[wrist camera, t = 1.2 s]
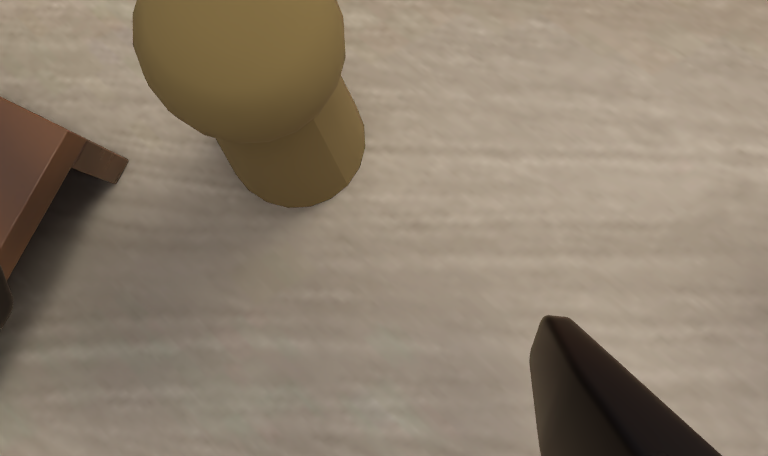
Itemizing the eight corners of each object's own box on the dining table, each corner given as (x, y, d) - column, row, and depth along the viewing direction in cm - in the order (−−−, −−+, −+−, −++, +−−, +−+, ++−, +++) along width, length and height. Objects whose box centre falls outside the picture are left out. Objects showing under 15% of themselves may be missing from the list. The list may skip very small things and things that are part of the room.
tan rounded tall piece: (201, 114, 22) (38, -45, 11) (322, 49, 23) (277, -166, 12) (269, 233, 22) (167, 187, 11) (390, 164, 22) (411, 52, 11)
